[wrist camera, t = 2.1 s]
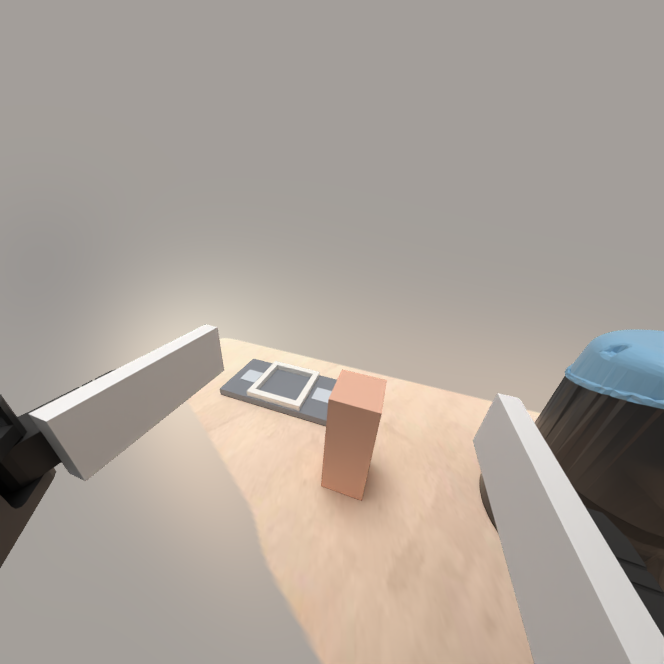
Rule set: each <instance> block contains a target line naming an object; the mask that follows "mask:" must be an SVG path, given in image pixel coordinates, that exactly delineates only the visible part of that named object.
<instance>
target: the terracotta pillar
mask: <svg viewBox="0 0 664 664" xmlns="http://www.w3.org/2000/svg"><path fill="white" fill-rule="evenodd" d="M386 382H387V380H384V379H379V378H375V377H371V376H367V375H363V374H359V373H355V372H350V371H346V370H342V371H341V373H340V375H339V377H338V379H337V382H336V384H335V386H334V388H333V390H332V392H331V395H330V397H329V399H328V410H327V422H326V434H325V446H324V458H323V470H322V482H321V486H323V487H325V488H328V489H331V490H334V491H336V492H339V493H342V494H344V495H347V496H350V497H353V498H355V499H358V500H361V501H362V496H363V492H364V488H365V483H366V479H367V475H368V470H369V466H370V461H371V457H372V453H373V448H374V444H375V440H376V435H377V431H378V427H379V422H380V418H381V414H382V407H383V401H384V395H385V388H386Z"/></svg>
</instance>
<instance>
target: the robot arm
mask: <svg viewBox="0 0 664 664" xmlns="http://www.w3.org/2000/svg"><path fill="white" fill-rule="evenodd" d="M223 371H224V366H223V360H222V353H221V347H220V340H219V334H218V328H217V327H214V326H210V325H206V324H205V325H203V326H201V327H199V328H197V329H195V330H193V331H191V332H189V333H187V334H185V335H183V336H181V337H179V338H177V339H175V340H174V341H171V342H170V343H167V344H165V345H164V346H161V347H160V348H158V349H156V350H154V351H152V352H150V353H148V354H146V355H144V356H142V357H140V358H138V359H136V360H134V361H132V362H130V363H128V364H126V365H124V366H122V367H120V368H118V369H115V370H112V371H110V372H108V373H106V374H104V375H102V376H100V377H98V378H96V379H95V380H94V381H90V382H88V383H86V384H84V385H82V387H78V388H76V389H74V390H72V391H70V392H68V393H66V394H64V395H62V396H60V397H58V398H56V399H54V400H52V401H50V402H48V403H46V404H44V405H42V406H40V407H38V408H36V409H34V410H32V411H30V412H28V413H25V414H23V415H21V416H19V417H17V416H16V415H15V414H14V412H13V411H12V409H11V408H10V407H9V405H8V404H7V402H6V401H5V400H4V398H3V397H2V396H1V395H0V568H1V566H2V564H3V563H4V561H5V559H6V558H7V556H8V554H9V553H10V551H11V549H12V548H13V546H14V544H15V542H16V541H17V539H18V537H19V536H20V534H21V532H22V531H23V529H24V527H25V526H26V524H27V522H28V521H29V519H30V517H31V516H32V514H33V512H34V511H35V509H36V507H37V506H38V504H39V502H40V501H41V499H42V497H43V495H44V494H45V492H46V490H47V489H48V487H49V485H50V484H51V482H52V480H53V479H54V476H55V473H56V471H55V469H54V467H55V466H56V465H58V464H59V463H61V462H62V463H63V465H64V466H65V468H66V469H67V470H68V472H69V473H70V474H72V475H74V476H76V477H78V478H80V479H82V480H84V481H86V480H88V479H89V478H90V477H91V476H93V475H94V474H95V473H96V472H98V471H99V470H100V469H101V468H103V467H104V466H105V465H106V464H108V463H109V462H110V461H111V460H113V459H114V458H115V457H116V456H118V455H119V454H120V453H121V452H123V451H124V450H125V449H126V448H128V447H129V446H130V445H131V444H133V443H134V442H135V441H136V440H138V439H139V438H140V437H141V436H143V435H144V434H145V433H146V432H148V431H149V430H150V429H151V428H153V427H154V426H155V425H156V424H158V423H159V422H160V421H161V420H163V419H164V418H165V417H166V416H168V415H169V414H170V413H171V412H173V411H174V410H175V409H176V408H178V407H179V406H180V405H181V404H183V403H184V402H185V401H186V400H188V399H189V398H190V397H191V396H193V395H194V394H195V393H196V392H198V391H199V390H200V389H201V388H203V387H204V386H205V385H206V384H208V383H209V382H210V381H211V380H213V379H214V378H215V377H216V376H218V375H219V374H220V373H221V372H223ZM473 443H474V447H475V450H476V454H477V458H478V461H479V465H480V468H481V472H482V473H481V476H480V491H481V496H482V500H483V503H484V505H485V508H486V510H487V512H488V515H489V517H490V518H491V520H492V522H493V524H494V525H495V527H496V529H497V530H498V534H499V537H500V541H501V545H502V548H503V552H504V555H505V559H506V563H507V566H508V570H509V574H510V577H511V581H512V584H513V588H514V592H515V595H516V599H517V603H518V606H519V610H520V613H521V617H522V621H523V624H524V628H525V631H526V635H527V639H528V642H529V646H530V650H531V653H532V657H533V660H534V664H664V331H655V330H620V331H613V332H609V333H606V334H603V335H601V336H598V337H597V338H595V339H593V340H592V341H591V342H590V343H589V344H588V345H587V347H586V348H585V349H584V351H583V352H582V353H581V354H580V356H579V357H578V358H577V360H576V361H575V362H574V363H573V364H572V365H571V366H569V367H568V368H567V369H566V371H565V377H564V378H563V380H562V382H561V383H560V385H559V386H558V388H557V389H556V391H555V392H554V394H553V395H552V397H551V399H550V400H549V402H548V403H547V405H546V406H545V408H544V409H543V411H542V412H541V414H540V415H539V417H538V419H537V420H536V422H535V423H534V422H533V420H532V418H531V417H530V415H529V413H528V412H527V410H526V408H525V407H524V405H523V403H522V402H521V400H520V399H519V398H516V397H512V396H508V395H503V394H499V393H497V395H496V397H495V399H494V401H493V403H492V404H491V406H490V408H489V410H488V412H487V414H486V416H485V418H484V420H483V422H482V424H481V426H480V428H479V430H478V431H477V433H476V435H475V437H474V439H473Z"/></svg>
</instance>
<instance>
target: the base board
mask: <svg viewBox="0 0 664 664" xmlns="http://www.w3.org/2000/svg"><path fill="white" fill-rule="evenodd" d="M336 382H337V380H336V379H332V378H328V377H324V376H320V372H317V371H313V370H309V369H305V368H301V367H297V366H293V365H289V364H285V363H281V362H277V361H275V362H274V363H273V364H272V363H268V362H264V361H260V360H256V359H253V360H252V361H250V362H249V363H248V364H247V365H246V366H245V367H244V368H243V369H241V370H240V371H239V372H238V373H237V374H236V375H235V376H234V377H232V378H231V379H230V380H229V381H228V382H227V383H226V384H225V385H223V386H222V387H221V388H220V393H221V394H222V395H225V396H229V397H232V398H235V399H239V400H242V401H245V402H248V403H252V404H255V405H258V406H262V407H265V408H268V409H271V410H275V411H278V412H281V413H285V414H288V415H291V416H294V417H298V418H301V419H304V420H308V421H311V422H314V423H317V424H321V425H324V426H326V422H327V410H328V399H329V397H330V395H331V392H332V390H333V388H334V386H335V384H336Z"/></svg>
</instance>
